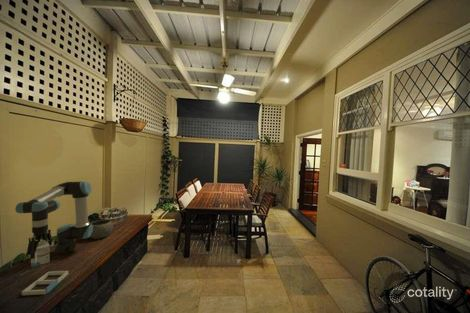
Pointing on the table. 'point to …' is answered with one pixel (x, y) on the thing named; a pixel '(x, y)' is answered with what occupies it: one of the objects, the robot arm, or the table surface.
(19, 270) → the table surface
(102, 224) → the bowl
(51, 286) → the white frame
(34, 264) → the ink box
